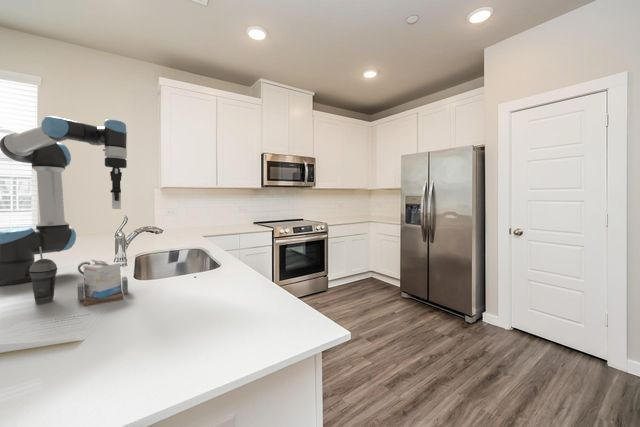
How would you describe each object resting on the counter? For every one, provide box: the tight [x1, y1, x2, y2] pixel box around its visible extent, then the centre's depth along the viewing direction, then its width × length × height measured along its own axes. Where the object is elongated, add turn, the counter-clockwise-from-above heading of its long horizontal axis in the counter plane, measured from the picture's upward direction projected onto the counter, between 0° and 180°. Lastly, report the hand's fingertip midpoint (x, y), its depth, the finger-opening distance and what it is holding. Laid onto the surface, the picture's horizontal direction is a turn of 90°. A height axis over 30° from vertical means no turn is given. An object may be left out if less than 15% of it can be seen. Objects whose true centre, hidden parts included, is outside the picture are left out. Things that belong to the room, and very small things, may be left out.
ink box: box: [82, 259, 122, 299], centre depth 106 cm, size 9×8×13 cm
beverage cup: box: [29, 247, 58, 305], centre depth 99 cm, size 7×7×20 cm
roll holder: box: [76, 275, 129, 306], centre depth 106 cm, size 15×15×6 cm
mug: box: [77, 261, 91, 276], centre depth 122 cm, size 10×12×10 cm
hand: (116, 208), depth 118 cm, fingers open, 13 cm apart
